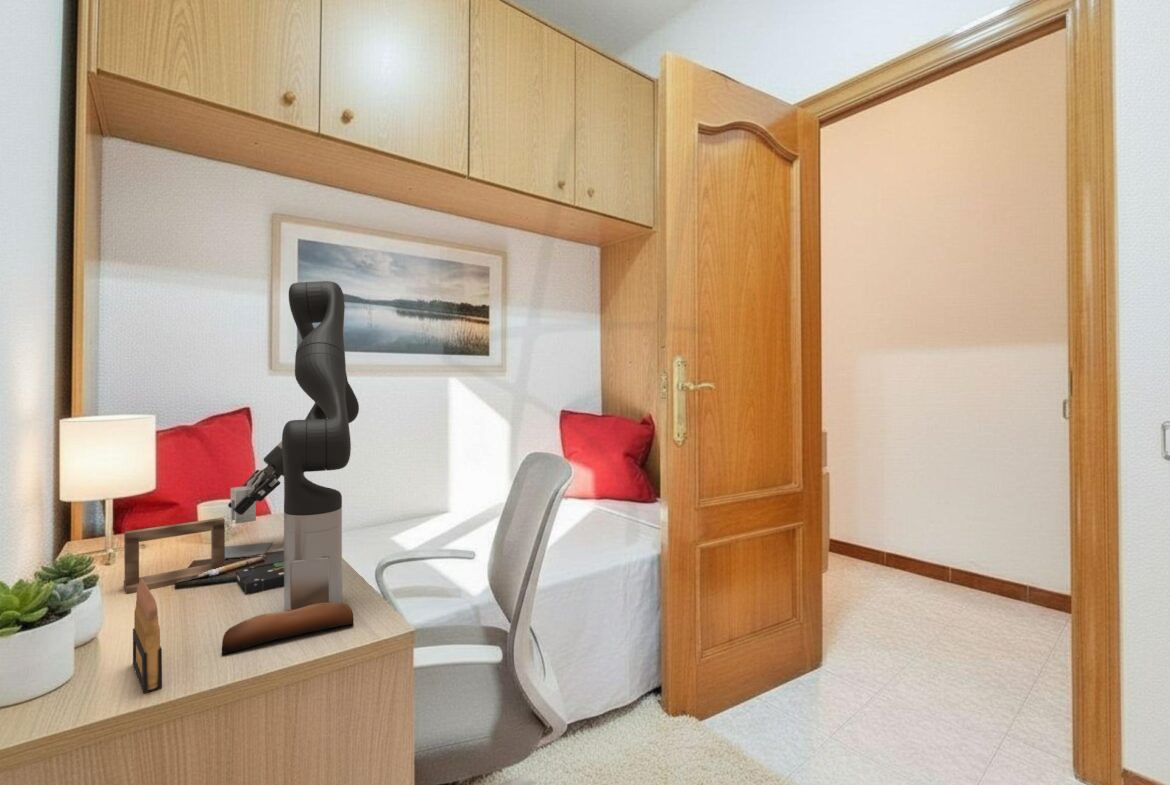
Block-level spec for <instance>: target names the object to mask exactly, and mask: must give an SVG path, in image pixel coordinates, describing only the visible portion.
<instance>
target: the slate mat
mask: <svg viewBox="0 0 1170 785" xmlns="http://www.w3.org/2000/svg"><path fill="white" fill-rule="evenodd" d="M272 545H273V542H262V543H259V542H258V543H249V544H248V543H247V544H238V545H235V544H234V545H227V546H226V545H225V559H226V558H234V557H243V556H251V555H256V554H264V553H265V552H266V551H267V552H268V550H269V549H270V548H271V547H272ZM267 552H266V553H267ZM266 553H265V554H266ZM265 554H264V555H265Z"/></svg>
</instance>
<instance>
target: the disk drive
mask: <svg viewBox="0 0 1170 785" xmlns="http://www.w3.org/2000/svg"><path fill="white" fill-rule="evenodd" d="M236 578H237V581H236V583H237V582H238V583H237V585H238V586H239V587H240V588H241V591H242V592H243V593H244V595H245V596H246V595H251V594H252V595H253V594H256V593H261V592H265V591H270V590H275V589H278V588H284V560H282V561H275V562H271V563H266V564H265V563H264V564H261V565H257V566H251V567H244V568H241V569H236V570H235V579H236Z"/></svg>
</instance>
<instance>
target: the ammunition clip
mask: <svg viewBox="0 0 1170 785" xmlns="http://www.w3.org/2000/svg"><path fill="white" fill-rule="evenodd" d="M157 605H158V604H157V601H156V599H155V597H154V596H153V594H152V592H151V589H148V587H147V585H146V584H145V582H144V580H143V579H141V580H140V582H139V585H138V589H137V592H136V601H135V608H134V614H133V615H134V622H133V623H134V627H133V628H132V666H133V665H134V666H133V668H135V669H134V671H136V672H135V674H136V677H137V679H139V680H138V682H139V685H140V684H141V685H140V688H141V687H142V688H141V690H143V691H142V693H143V694H147V693H150V692H149V691H151V692H152V691H153V690H154V691H156V689H157V690H159V688H160V689H163V664H162V663H163V657H162V656H163V651H162V650H163V649H162V647H161V629H160V628H161V627H160V623H159V617H158V614H159V613H158V606H157ZM146 692H147V693H146Z"/></svg>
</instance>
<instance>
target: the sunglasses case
mask: <svg viewBox="0 0 1170 785" xmlns="http://www.w3.org/2000/svg"><path fill="white" fill-rule="evenodd" d="M346 625H347V626H349V625H350V626H352V625H353V626H354V613H353V609H352V607H351V606H350V605H348V604H347V603H343V602H342V603H318V604H313V605H309V606H305V607H302V608H298V609H295V610H293V609H288V610H286V611H280V612H279V611H277V612H270V613H264V614H260V615H255V616H253V617H250V618H248V619H245V620H243V621H241V622H239V623H237V624H235V625H232V626H231V627H229V628H228V629H227V630H226V631H225V632H224V635H223V636H222V642H221V655H225V654H228V653H232V652H236V651H239V650H243V649H245V648H249V647H254V646H256V645H258V644H264V643H268V642H270V641H273V640H276V639H277V640H278V639H279V640H280V639H284V638H285V639H286V638H289V637H294V636H298V635H302V634H306V633H312V632H313V633H314V632H318V631H322V630H326V629H331V628H337V627H342V626H346Z"/></svg>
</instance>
